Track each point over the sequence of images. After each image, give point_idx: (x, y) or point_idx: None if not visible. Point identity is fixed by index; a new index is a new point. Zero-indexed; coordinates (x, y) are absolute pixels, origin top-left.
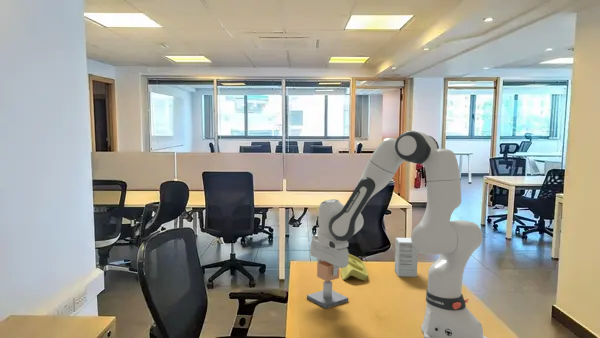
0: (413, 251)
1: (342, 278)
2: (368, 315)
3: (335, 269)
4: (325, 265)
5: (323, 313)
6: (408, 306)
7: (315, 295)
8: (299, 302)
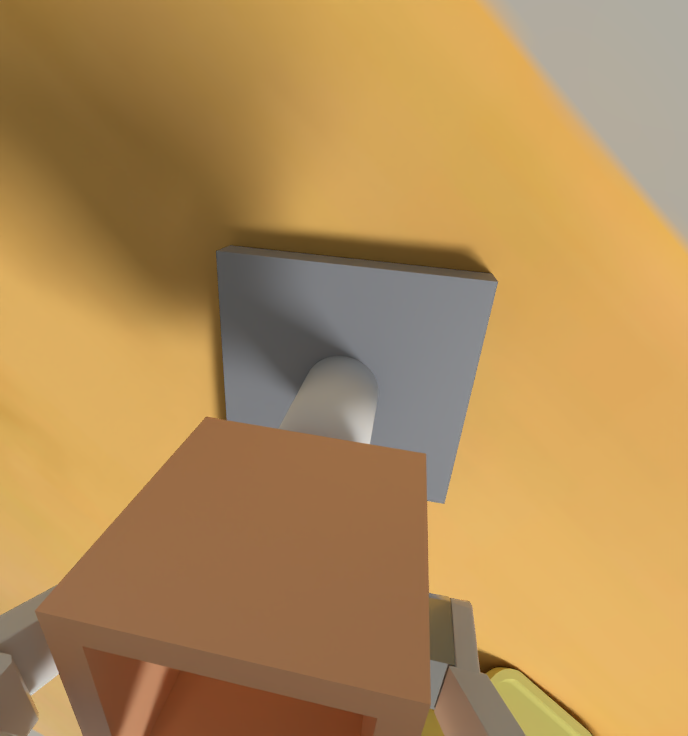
0: None
1: (521, 675)
2: (19, 378)
3: (10, 620)
4: (137, 651)
5: (168, 157)
6: (43, 575)
7: (427, 333)
8: (487, 146)
